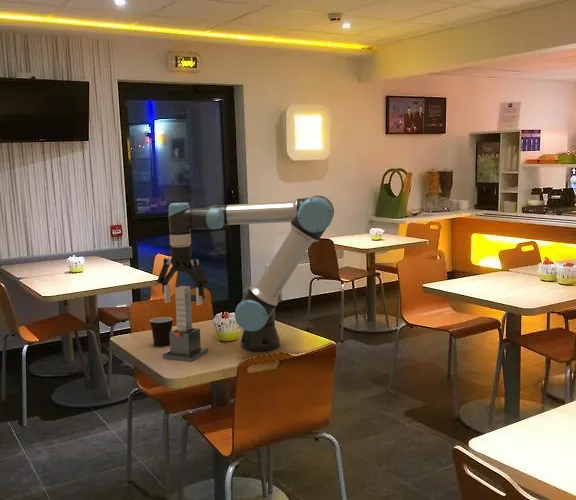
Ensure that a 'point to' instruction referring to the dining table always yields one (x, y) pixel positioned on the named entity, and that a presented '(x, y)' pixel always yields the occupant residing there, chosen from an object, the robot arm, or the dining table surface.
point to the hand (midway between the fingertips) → (183, 303)
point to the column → (183, 309)
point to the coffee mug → (161, 331)
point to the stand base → (185, 346)
